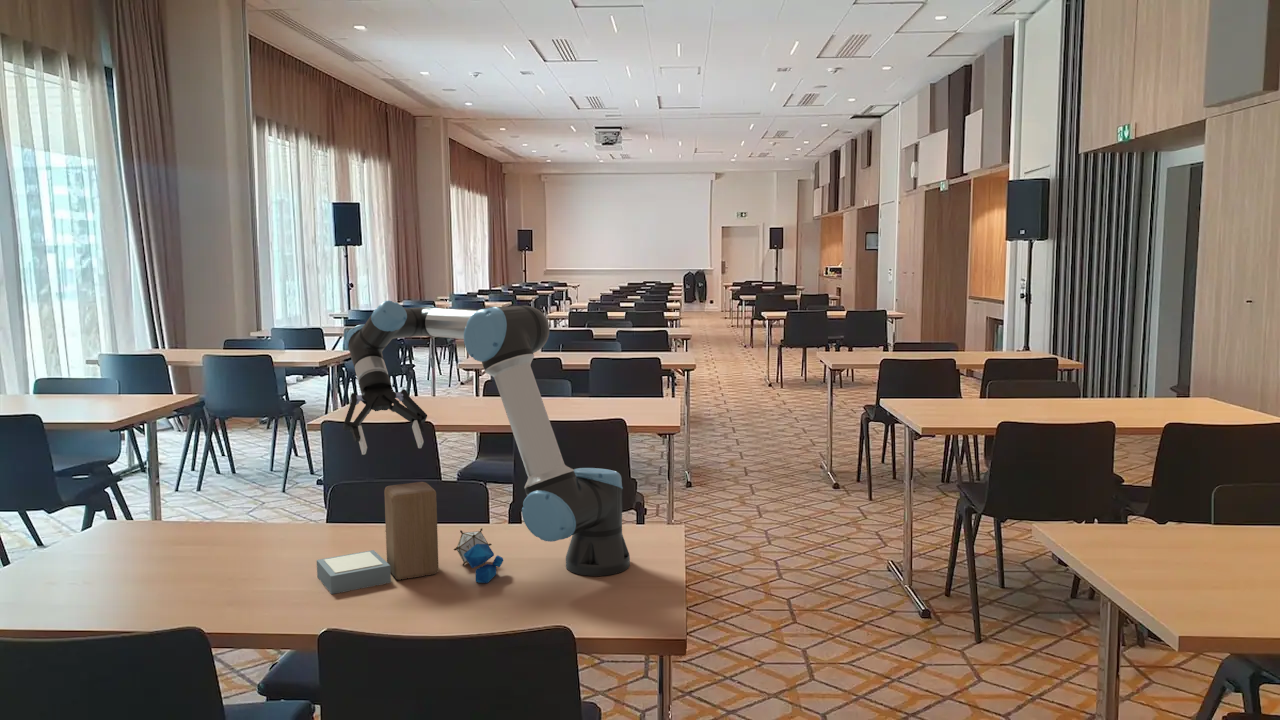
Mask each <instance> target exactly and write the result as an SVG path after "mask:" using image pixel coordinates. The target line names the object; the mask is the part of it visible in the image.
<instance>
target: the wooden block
mask: <svg viewBox="0 0 1280 720" xmlns="http://www.w3.org/2000/svg"><path fill="white" fill-rule="evenodd" d="M383 492H384V517H385V518H384V519H385V539H386V540H385V545H386V549H385V550H386V562H387V563H388V564H389V565H390V570H391V575H392V576H393V577H394V578H395V580H399V581H401V579H402V580H406V579H407V578H408V579H413V577H414V578H418V577H419V576H420V577H425V575H426V576H432V575H436V574H438V573H439V569H440V568H439V545H438V544H439V543H438V542H439V541H438V540H439V539H438V537H439V536H438V509H437V508H438V507H437V506H438V505H437V503H438V502H437V492H436V490H435V489H434V488H433V487H432V486H431V485H430V484H429V483H428V482H425V481H417V482H410V483H403V484H402V483H399V484H392V485H388V486H385V488H384V491H383ZM431 574H432V575H431Z"/></svg>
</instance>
